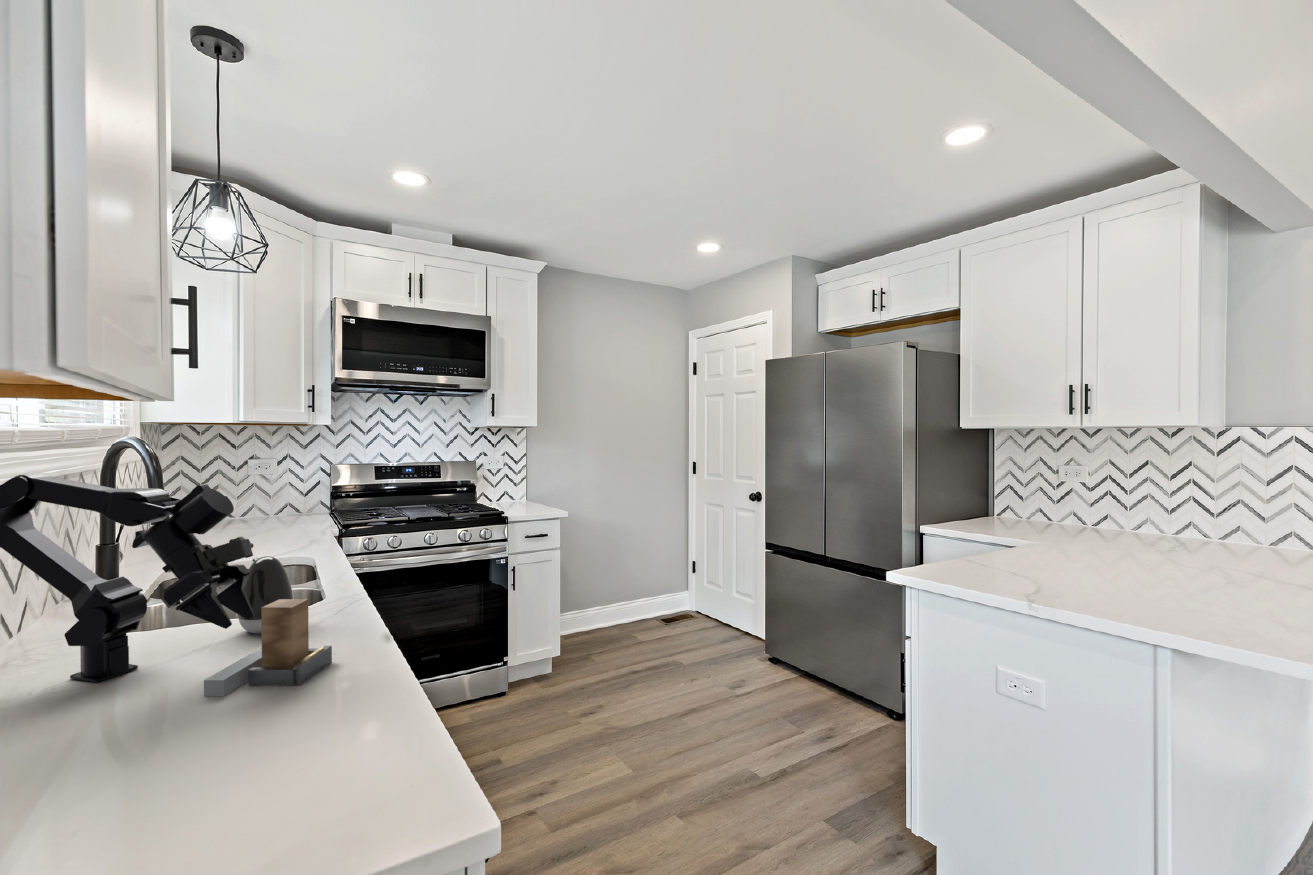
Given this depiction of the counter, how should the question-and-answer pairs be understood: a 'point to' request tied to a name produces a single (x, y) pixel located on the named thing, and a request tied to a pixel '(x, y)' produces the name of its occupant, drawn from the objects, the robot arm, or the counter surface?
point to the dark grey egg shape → (264, 589)
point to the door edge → (232, 675)
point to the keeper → (292, 669)
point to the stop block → (285, 632)
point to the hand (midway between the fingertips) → (240, 622)
